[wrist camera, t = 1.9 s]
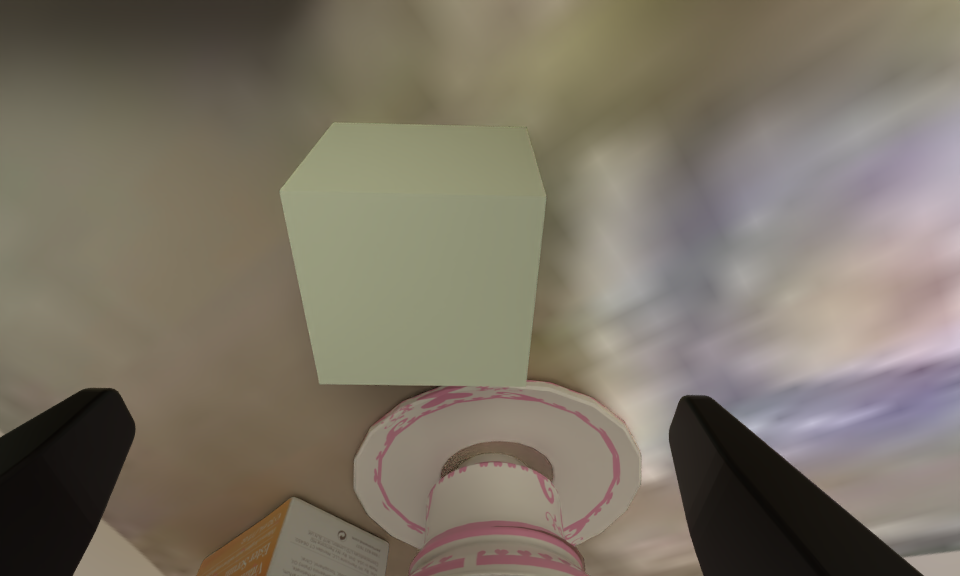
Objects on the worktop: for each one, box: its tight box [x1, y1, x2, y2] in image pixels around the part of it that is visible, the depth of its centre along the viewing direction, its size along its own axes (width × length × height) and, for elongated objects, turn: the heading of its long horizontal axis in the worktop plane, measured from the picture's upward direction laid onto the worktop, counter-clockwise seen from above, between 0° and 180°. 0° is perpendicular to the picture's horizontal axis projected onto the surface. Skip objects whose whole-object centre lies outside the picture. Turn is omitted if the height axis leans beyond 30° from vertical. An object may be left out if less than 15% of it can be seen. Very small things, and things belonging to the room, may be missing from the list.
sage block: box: [279, 122, 547, 387], centre depth 13 cm, size 5×5×4 cm
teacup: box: [354, 380, 641, 576], centre depth 19 cm, size 12×12×6 cm
